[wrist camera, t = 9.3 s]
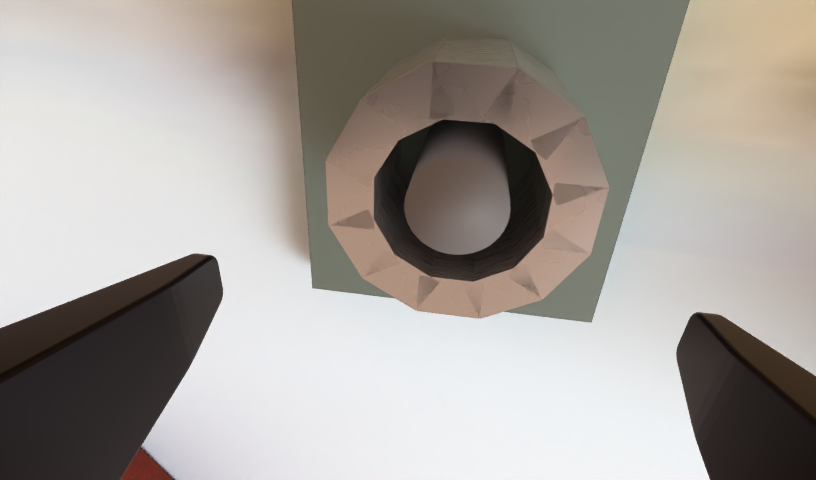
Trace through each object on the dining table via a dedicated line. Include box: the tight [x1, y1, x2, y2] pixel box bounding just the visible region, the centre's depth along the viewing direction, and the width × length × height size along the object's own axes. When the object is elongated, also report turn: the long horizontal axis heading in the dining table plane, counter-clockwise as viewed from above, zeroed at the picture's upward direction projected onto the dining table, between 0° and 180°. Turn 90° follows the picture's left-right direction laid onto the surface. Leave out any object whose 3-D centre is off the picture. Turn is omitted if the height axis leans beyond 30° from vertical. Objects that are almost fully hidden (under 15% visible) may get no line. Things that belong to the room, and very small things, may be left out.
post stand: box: [292, 0, 690, 322], centre depth 15 cm, size 14×12×6 cm
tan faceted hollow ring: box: [325, 35, 609, 319], centre depth 15 cm, size 7×7×5 cm
